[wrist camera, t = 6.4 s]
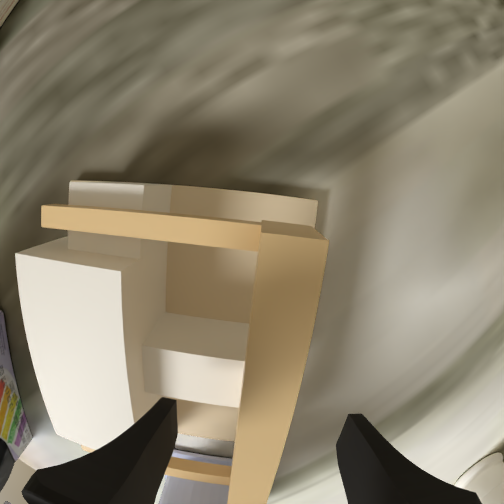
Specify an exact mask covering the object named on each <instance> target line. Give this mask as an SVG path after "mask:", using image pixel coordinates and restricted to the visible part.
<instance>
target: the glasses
mask: <svg viewBox="0 0 504 504" xmlns="http://www.w3.org/2000/svg"><path fill="white" fill-rule="evenodd" d="M41 227H46V228H54V229H63V230H72V231H81V232H89V233H98V234H107V235H116V236H125V237H133V238H142V239H151V240H160V241H168V242H177V243H186V244H194V245H203V246H212V247H221V248H229V249H238V250H247V251H255V252H258V254H257V263H256V271H255V279H254V288H253V296H252V305H251V313H250V321H249V329H248V338H247V346H246V354H245V362H244V370H243V379H242V387H241V395H240V403H239V411H238V419H237V427H236V434H235V442H234V450H233V458H232V466H227V465H219V464H212V463H205V462H199V461H193V460H187V459H182V458H177V457H172V456H171V459H170V461H169V464H168V466H167V469H166V471H165V474H164V475H168V476H173V477H178V478H183V479H188V480H194V481H200V482H206V483H213V484H220V485H229V491H228V500H227V504H266V503H267V500H268V497H269V494H270V491H271V488H272V485H273V482H274V479H275V475H276V472H277V469H278V466H279V463H280V459H281V456H282V453H283V449H284V446H285V442H286V439H287V435H288V432H289V428H290V424H291V421H292V417H293V413H294V410H295V406H296V402H297V398H298V394H299V390H300V386H301V382H302V378H303V373H304V369H305V365H306V361H307V356H308V352H309V347H310V343H311V338H312V333H313V328H314V324H315V319H316V314H317V309H318V303H319V298H320V293H321V287H322V282H323V276H324V270H325V264H326V258H327V252H328V246H329V240H328V239H327V238H325V237H324V236H323V235H322V234H320V233H319V232H318V231H317V230H315V229H314V228H313V227H312V226H308V225H301V224H293V223H284V222H276V221H268V220H261V222H255V221H246V220H237V219H228V218H218V217H209V216H199V215H189V214H178V213H168V212H157V211H145V210H134V209H121V208H109V207H95V206H81V205H66V204H48V205H42V206H41ZM81 447H82V450H85V451H87V452H90V453H91V452H93V451H95V450H94V449H91V448H89V447H86V446H83V445H81Z"/></svg>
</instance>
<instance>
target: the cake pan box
mask: <svg viewBox="0 0 504 504" xmlns="http://www.w3.org/2000/svg"><path fill="white" fill-rule="evenodd" d="M32 438H33V437H32V434H31V432H30V429H29V426H28V423H27V420H26V417H25V414H24V410H23V407H22V403H21V400H20V396H19V392H18V388H17V384H16V380H15V376H14V372H13V367H12V362H11V357H10V352H9V347H8V341H7V334H6V328H5V320H4V314H3V312H2V311H1V310H0V491H1V490H2V489H3V487H4V485H5V484H6V482H7V480H8V478H9V476H10V474H11V471H12V468H13V466H14V462H16V460H17V459H18V458H19V457H20V455H21V454H22V452H23V451H24V450H25V448H26V447H27V445H28V444H29V443H30V441H31V440H32Z"/></svg>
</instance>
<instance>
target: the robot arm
mask: <svg viewBox="0 0 504 504" xmlns="http://www.w3.org/2000/svg"><path fill="white" fill-rule="evenodd" d="M177 434H178V423H177V400H175V399H169V398H165V397H162V398H160V399H159V400H158V401H157V402H156V403H155V404H154V405H153V407H152V408H151V409H150V410H149V411H147V412H146V413H145V414H144V415H143V416H142V417H141V418H140V419H139V420H138V421H137V422H135V423H134V424H133V425H132V426H131V427H130V428H128V429H127V430H126V431H124V432H123V433H122V434H121V435H119V436H118V437H116V438H115V439H114V440H112V441H111V442H109V443H107V444H106V445H104V446H102V447H101V448H99V449H97V450H95V451H93V452H91V453H89V454H87V455H85V456H83V457H80V458H78V459H75V460H72V461H69V462H67V463H64V464H61V465H57V466H53V467H48V468H44V469H38V470H37V471H36V472H35V473H34V474H33V475H32V476H31V478H30V479H29V481H28V482H27V484H26V485H25V487H24V489H23V490H22V495H23V497H24V499H25V500H26V501H27V503H28V504H154V502H155V498H156V495H157V492H158V489H159V486H160V484H161V481H162V479H163V476H164V474H165V471H166V469H167V466H168V464H169V461H170V459H171V456H172V457H177V458H182V459H187V460H193V461H199V462H205V463H212V464H219V465H227V466H232V459H231V458H223V457H215V456H208V455H202V454H196V453H190V452H185V451H179V450H174V446H175V442H176V438H177ZM336 450H337V459H338V466H339V470H340V474H341V477H342V481H343V485H344V489H345V493H346V496H347V500H348V504H482V503H481V501H480V499H479V497H478V495H477V494H476V492H472V491H469V490H465V489H462V488H459V487H456V486H453V485H451V484H448V483H446V482H444V481H442V480H440V479H438V478H436V477H434V476H432V475H430V474H429V473H427V472H425V471H424V470H422V469H420V468H419V467H418V466H416V465H415V464H413V463H412V462H411V461H409V460H408V459H407V458H405V457H404V456H403V455H402V454H401V453H400V452H398V451H397V450H396V449H395V448H394V447H393V446H392V445H391V444H390V443H389V442H388V441H387V440H386V439H385V438H384V437H383V436H382V435H381V434H380V433H379V432H378V431H377V430H376V429H375V428H374V427H373V425H372V424H371V423H370V422H369V421H368V420H367V419H366V418H365V417H364V416H363V415H362V414H348V417H347V419H346V422H345V424H344V427H343V429H342V432H341V434H340V437H339V439H338V441H337V444H336ZM228 491H229V485H220V484H213V483H206V482H200V481H194V480H188V479H183V478H178V477H173V476H168V475H165V484H164V488H163V491H162V494H161V497H160V501H159V504H227V500H228ZM4 504H11V503H10V502H8V501H5V503H4Z"/></svg>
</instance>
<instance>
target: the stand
mask: <svg viewBox="0 0 504 504" xmlns="http://www.w3.org/2000/svg"><path fill="white" fill-rule="evenodd" d="M68 205H81V206H95V207H109V208H121V209H134V210H145V211H157V212H168V213H178V214H189V215H199V216H209V217H218V218H228V219H237V220H246V221H255V222H261V220H268V221H276V222H284V223H293V224H301V225H308V226H312V227H313V228H314V229H315V222H316V215H317V207H318V200H313V199H305V198H298V197H290V196H282V195H274V194H265V193H256V192H247V191H238V190H228V189H217V188H206V187H194V186H181V185H167V184H152V183H134V182H112V181H80V180H72V181H70V183H69V201H68ZM257 254H258V252H255V251H247V250H238V249H229V248H221V247H212V246H203V245H194V244H186V243H177V242H168V241H160V240H151V239H142V238H133V237H125V236H116V235H107V234H98V233H89V232H81V231H72V230H68V236H66V237H63V238H60V239H56V240H53V241H50V242H47V243H44V244H41V245H38V246H35V247H32V248H29V249H26V250H23V251H20V252H17V253H15V259H16V270H17V280H18V289H19V296H20V303H21V310H22V316H23V321H24V327H25V332H26V337H27V341H28V346H29V350H30V354H31V358H32V362H33V366H34V370H35V373H36V377H37V380H38V384H39V387H40V390H41V394H42V397H43V400H44V403H45V406H46V409H47V411H48V414H49V417H50V420H51V422H52V425H53V427H54V430H55V432H56V434H57V435H59V436H61V437H63V438H66V439H68V440H71V441H73V442H76V443H78V444H81V445H83V446H86V447H89V448H91V449H94V450H97V449H99V448H101V447H102V446H104V445H106V444H107V443H109V442H111V441H112V440H114V439H115V438H116V437H118V436H119V435H121V434H122V433H123V432H124V431H126V430H127V429H128V428H130V427H131V426H132V425H133V424H134V423H135V422H137V421H138V420H139V419H140V418H141V417H142V416H143V415H144V414H145V413H146V412H147V411H149V410H150V409H151V408H152V407H153V405H154V404H155V403H156V402H157V401H158V400H159V399H160V398H162V397H165V398H169V399H175V400H177V423H178V433H180V434H185V435H191V436H197V437H203V438H209V439H216V440H224V441H232V442H235V434H236V427H237V419H238V411H239V403H240V395H241V387H242V379H243V370H244V362H245V354H246V346H247V338H248V329H249V321H250V313H251V305H252V296H253V288H254V279H255V271H256V263H257Z"/></svg>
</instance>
